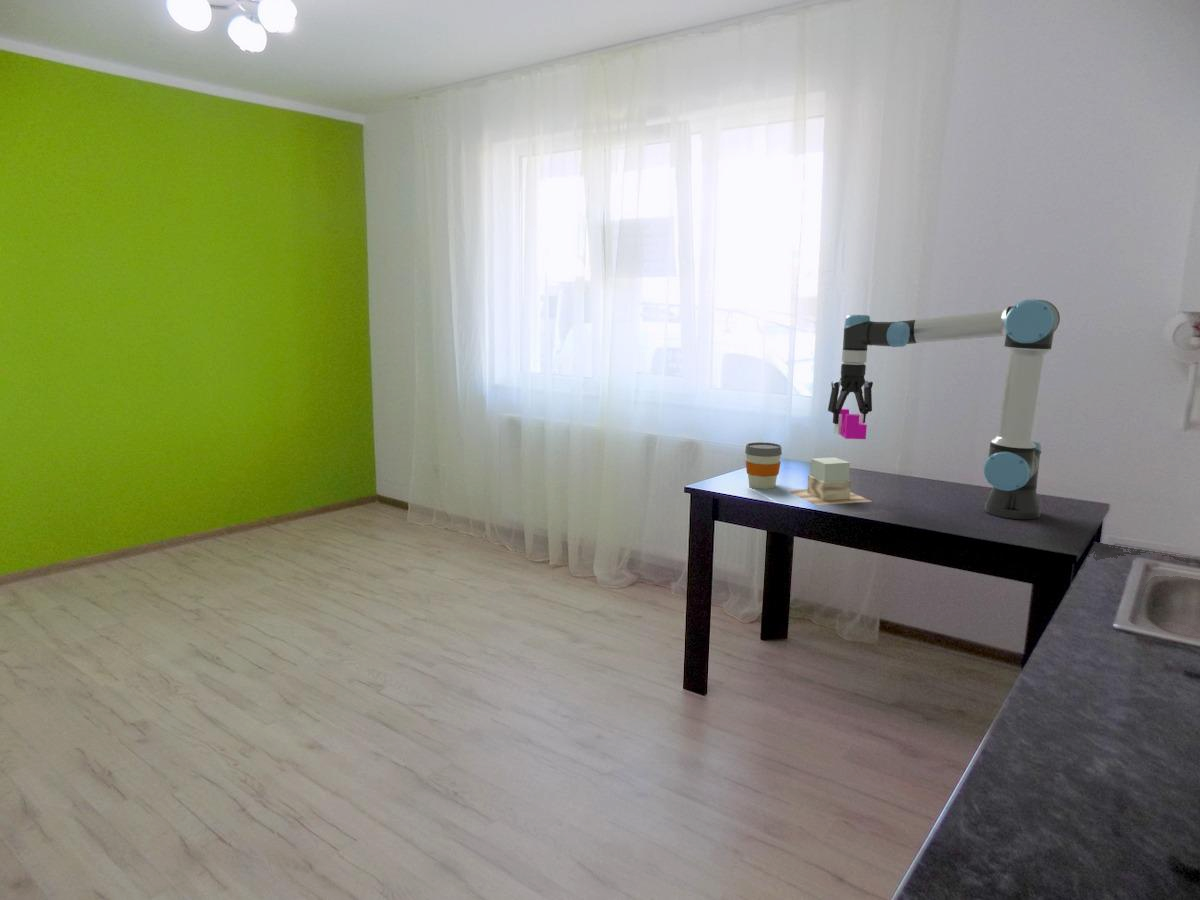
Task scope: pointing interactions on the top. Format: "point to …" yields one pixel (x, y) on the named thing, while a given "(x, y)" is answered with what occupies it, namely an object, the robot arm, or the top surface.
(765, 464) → the reusable coffee cup
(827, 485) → the tower base
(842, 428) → the toy block
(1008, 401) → the robot arm
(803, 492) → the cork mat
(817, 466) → the tower top
